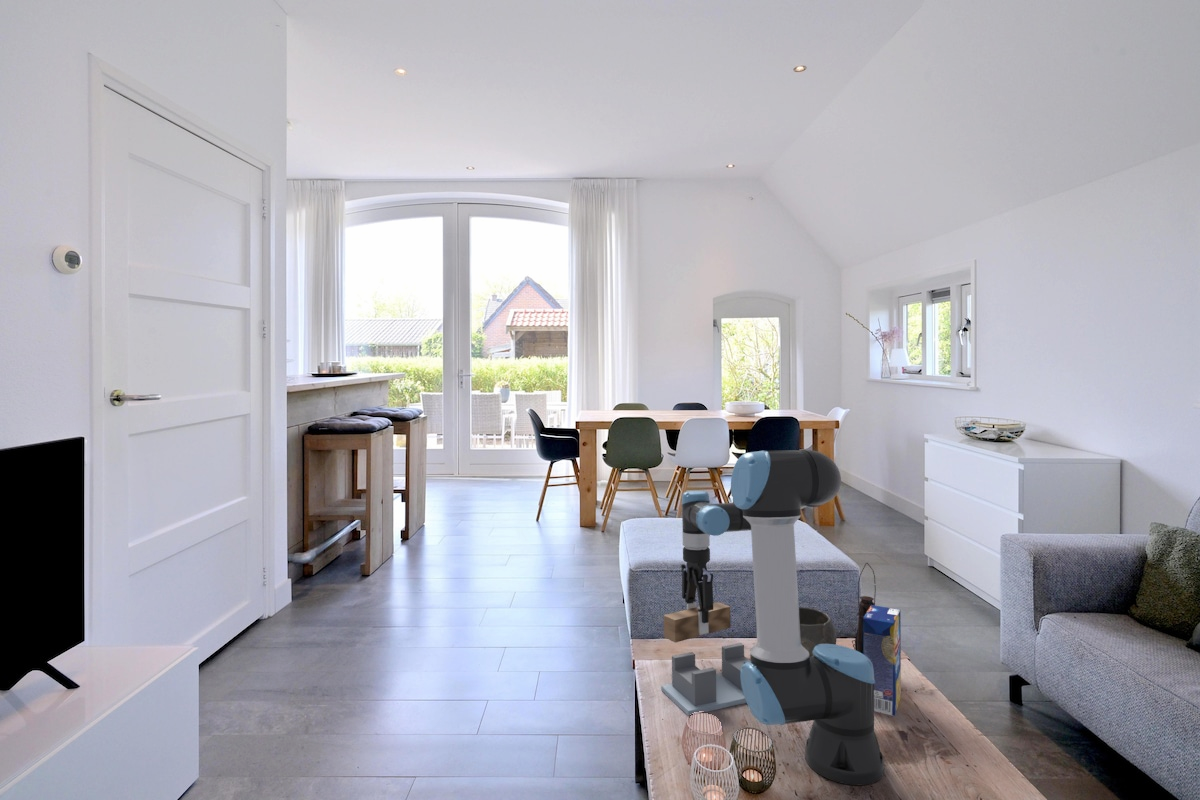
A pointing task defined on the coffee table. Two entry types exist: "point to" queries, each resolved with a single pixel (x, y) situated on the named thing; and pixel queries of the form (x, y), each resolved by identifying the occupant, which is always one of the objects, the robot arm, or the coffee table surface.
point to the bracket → (707, 682)
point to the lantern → (863, 609)
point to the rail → (695, 622)
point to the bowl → (815, 629)
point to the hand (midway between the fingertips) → (697, 629)
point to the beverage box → (884, 655)
